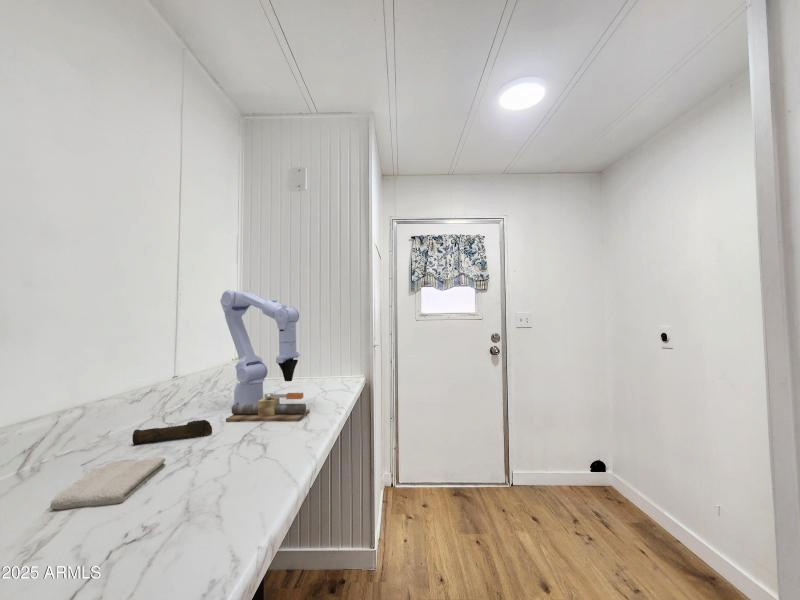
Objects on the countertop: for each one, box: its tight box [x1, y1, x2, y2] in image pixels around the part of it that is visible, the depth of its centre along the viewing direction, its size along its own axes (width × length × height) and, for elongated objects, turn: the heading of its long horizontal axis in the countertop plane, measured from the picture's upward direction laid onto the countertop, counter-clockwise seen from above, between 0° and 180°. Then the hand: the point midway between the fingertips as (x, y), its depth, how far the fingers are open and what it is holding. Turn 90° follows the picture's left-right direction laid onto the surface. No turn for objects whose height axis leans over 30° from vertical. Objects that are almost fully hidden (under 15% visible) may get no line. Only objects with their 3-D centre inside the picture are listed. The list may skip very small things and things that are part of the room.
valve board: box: [225, 397, 311, 423], centre depth 120 cm, size 24×10×6 cm, turn 86°
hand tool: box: [132, 419, 213, 446], centre depth 101 cm, size 19×4×5 cm, turn 105°
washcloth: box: [50, 456, 166, 511], centre depth 74 cm, size 12×18×3 cm, turn 10°
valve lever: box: [264, 392, 304, 400], centre depth 120 cm, size 13×3×2 cm, turn 83°
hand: (288, 381), depth 127 cm, fingers closed
